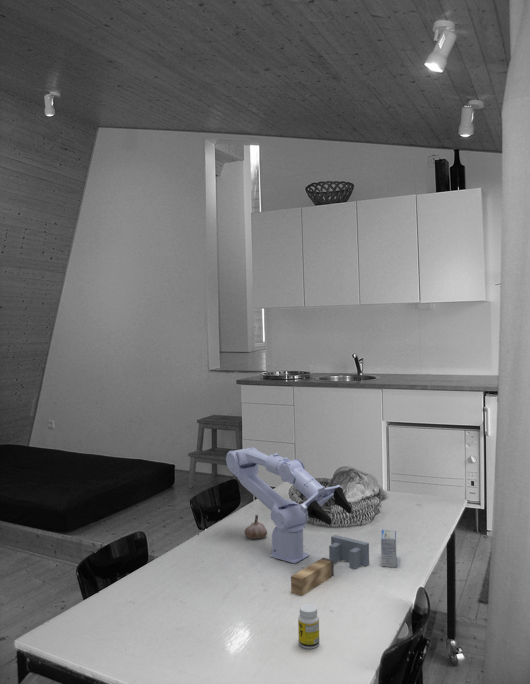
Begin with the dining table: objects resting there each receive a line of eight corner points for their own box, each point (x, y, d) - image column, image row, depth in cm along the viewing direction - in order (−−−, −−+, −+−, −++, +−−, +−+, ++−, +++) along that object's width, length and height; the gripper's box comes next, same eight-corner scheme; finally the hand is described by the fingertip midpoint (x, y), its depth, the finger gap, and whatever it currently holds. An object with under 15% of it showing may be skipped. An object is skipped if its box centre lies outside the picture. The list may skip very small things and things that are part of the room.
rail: (301, 595, 167) (301, 579, 167) (291, 592, 169) (291, 576, 169) (333, 575, 180) (333, 560, 179) (323, 572, 182) (323, 557, 182)
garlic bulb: (271, 536, 213) (270, 513, 212) (259, 543, 207) (259, 519, 206) (252, 532, 217) (252, 509, 216) (240, 539, 211) (240, 515, 210)
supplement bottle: (297, 638, 145) (296, 603, 145) (317, 637, 145) (316, 602, 145) (300, 650, 140) (299, 613, 140) (321, 648, 141) (320, 612, 140)
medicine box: (396, 568, 184) (396, 539, 184) (381, 567, 185) (380, 538, 185) (396, 557, 192) (396, 529, 192) (381, 556, 193) (381, 529, 193)
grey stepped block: (325, 560, 190) (324, 539, 190) (334, 555, 195) (334, 534, 194) (359, 570, 183) (359, 548, 183) (369, 564, 187) (368, 542, 187)
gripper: (291, 487, 180) (322, 517, 171) (329, 468, 188) (361, 495, 178) (290, 505, 184) (320, 535, 174) (327, 485, 191) (358, 513, 182)
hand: (340, 516), depth 177 cm, fingers open, 7 cm apart
